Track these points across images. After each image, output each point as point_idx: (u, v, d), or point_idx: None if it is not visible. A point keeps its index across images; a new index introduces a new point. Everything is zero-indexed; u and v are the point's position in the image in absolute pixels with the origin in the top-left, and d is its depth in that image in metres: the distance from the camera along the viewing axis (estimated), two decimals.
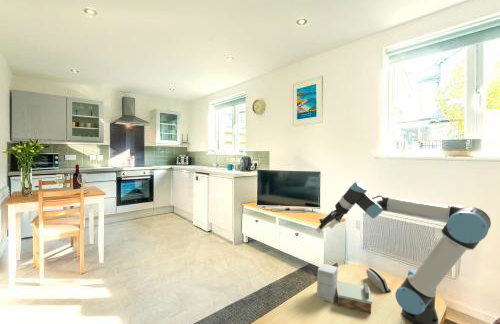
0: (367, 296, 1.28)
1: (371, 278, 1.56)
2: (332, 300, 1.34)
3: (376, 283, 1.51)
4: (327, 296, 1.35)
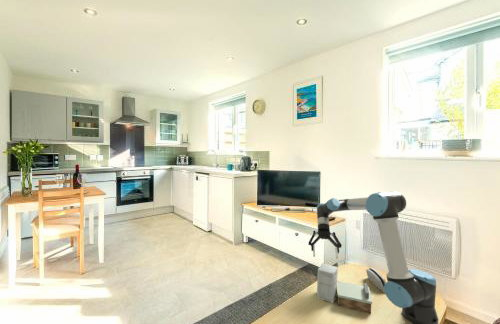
0: (367, 296, 1.28)
1: (371, 278, 1.56)
2: (332, 300, 1.34)
3: (376, 283, 1.51)
4: (327, 296, 1.35)
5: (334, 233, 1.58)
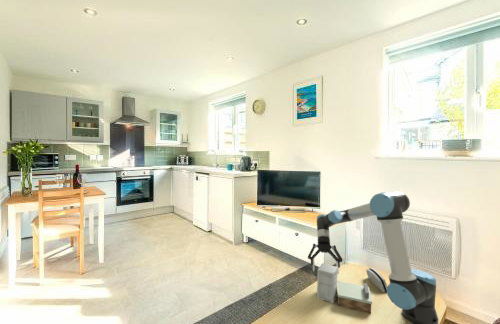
0: (367, 296, 1.28)
1: (371, 278, 1.56)
2: (332, 300, 1.34)
3: (376, 283, 1.51)
4: (327, 296, 1.35)
5: (335, 246, 1.51)
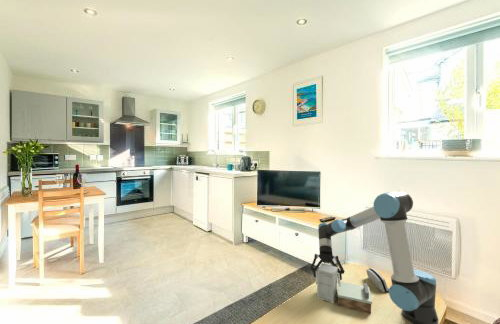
0: (367, 296, 1.28)
1: (371, 278, 1.56)
2: (332, 300, 1.34)
3: (376, 283, 1.51)
4: (327, 296, 1.35)
5: (337, 257, 1.45)
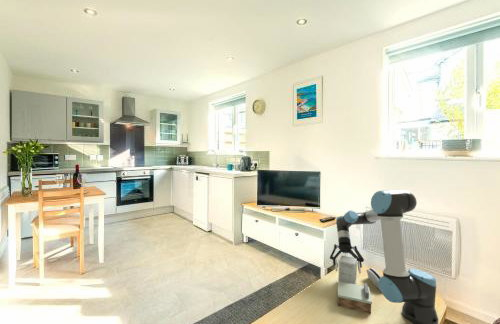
0: (367, 296, 1.28)
1: (371, 278, 1.56)
2: None
3: (375, 283, 1.51)
4: None
5: (355, 247, 1.57)
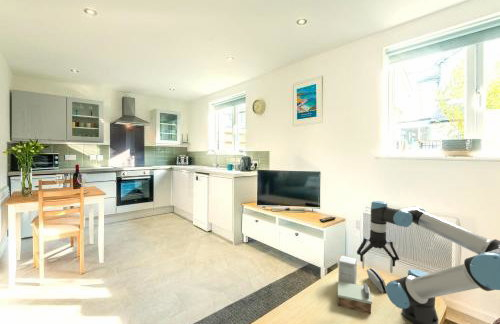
0: (367, 296, 1.28)
1: (371, 278, 1.56)
2: None
3: (375, 283, 1.51)
4: None
5: (391, 243, 1.27)
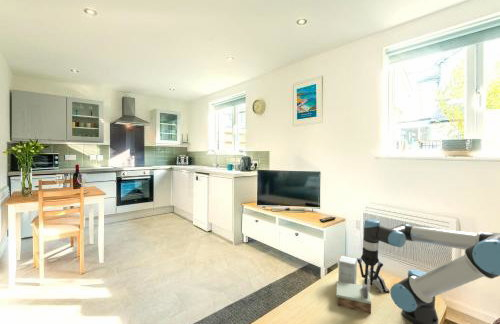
0: (366, 296, 1.28)
1: None
2: None
3: (375, 283, 1.51)
4: None
5: (381, 265, 1.29)
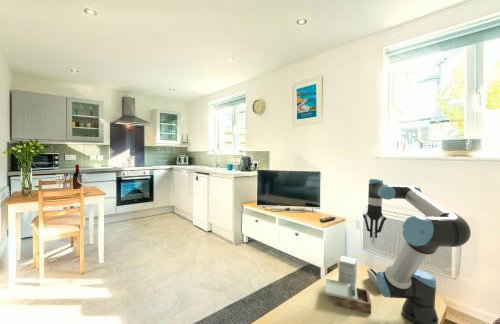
0: (353, 293, 1.30)
1: (371, 278, 1.56)
2: None
3: (375, 283, 1.51)
4: None
5: (385, 219, 1.44)
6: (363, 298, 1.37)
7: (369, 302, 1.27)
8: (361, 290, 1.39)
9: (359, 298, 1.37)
